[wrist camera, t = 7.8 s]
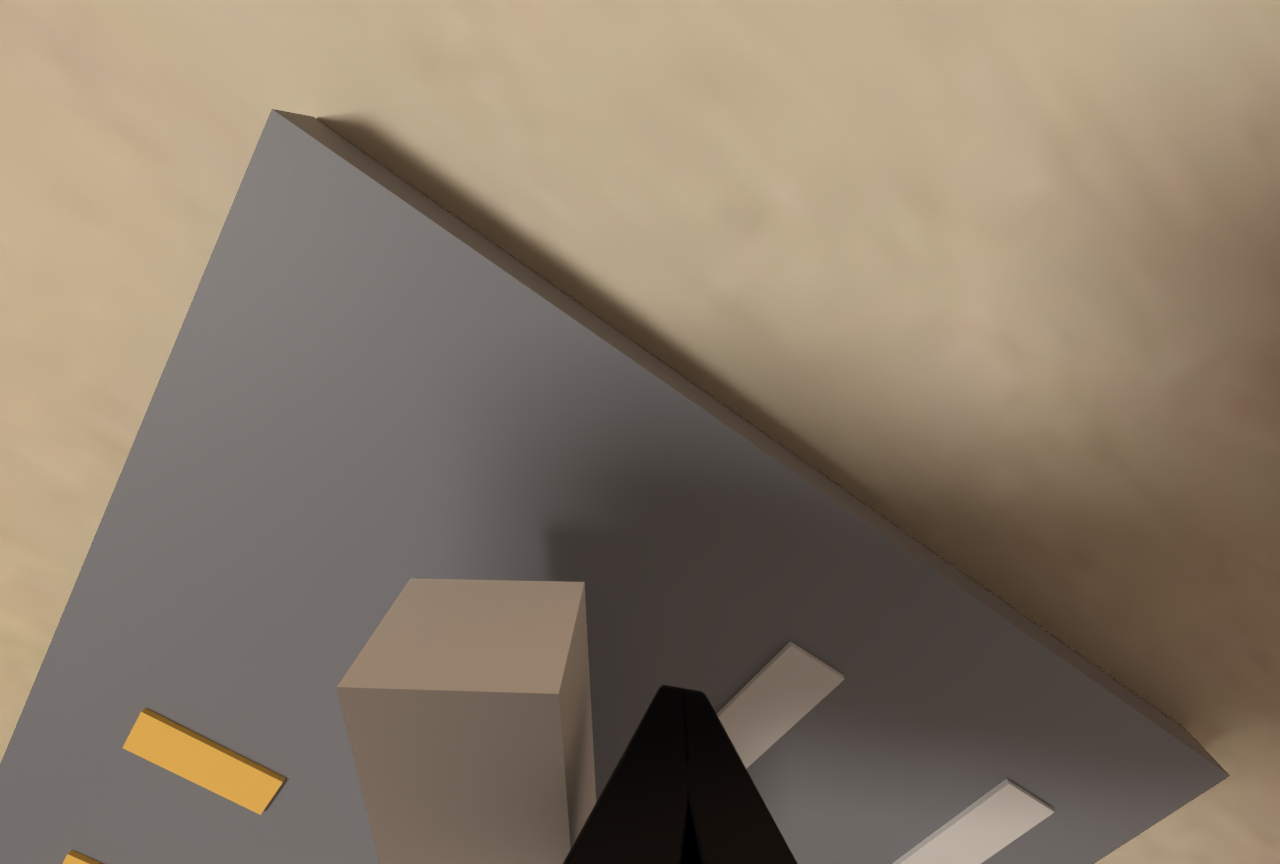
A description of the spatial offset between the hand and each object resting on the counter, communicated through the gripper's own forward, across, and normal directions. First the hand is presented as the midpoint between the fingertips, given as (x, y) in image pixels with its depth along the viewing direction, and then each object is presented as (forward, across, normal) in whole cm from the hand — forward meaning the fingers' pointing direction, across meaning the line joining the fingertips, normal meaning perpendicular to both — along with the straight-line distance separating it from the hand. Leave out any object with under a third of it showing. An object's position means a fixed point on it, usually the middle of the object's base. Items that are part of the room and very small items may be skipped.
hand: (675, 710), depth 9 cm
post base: (+3, +2, +6) cm, 7 cm away
